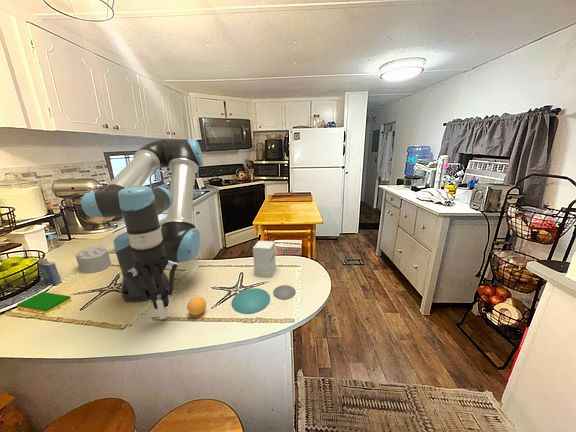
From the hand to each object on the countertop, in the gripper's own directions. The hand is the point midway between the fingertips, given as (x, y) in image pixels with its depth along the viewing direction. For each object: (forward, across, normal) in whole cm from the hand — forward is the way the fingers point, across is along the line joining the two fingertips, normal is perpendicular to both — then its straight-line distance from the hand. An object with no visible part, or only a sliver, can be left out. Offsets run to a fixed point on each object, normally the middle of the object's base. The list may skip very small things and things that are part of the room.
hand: (164, 315), depth 68 cm
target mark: (+2, +26, 0) cm, 26 cm away
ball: (-1, +9, 0) cm, 9 cm away
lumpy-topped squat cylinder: (+2, -36, +49) cm, 61 cm away
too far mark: (+2, +38, 0) cm, 38 cm away
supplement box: (+2, +35, +16) cm, 39 cm away
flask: (+2, -48, +41) cm, 63 cm away
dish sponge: (+3, -41, +24) cm, 47 cm away
